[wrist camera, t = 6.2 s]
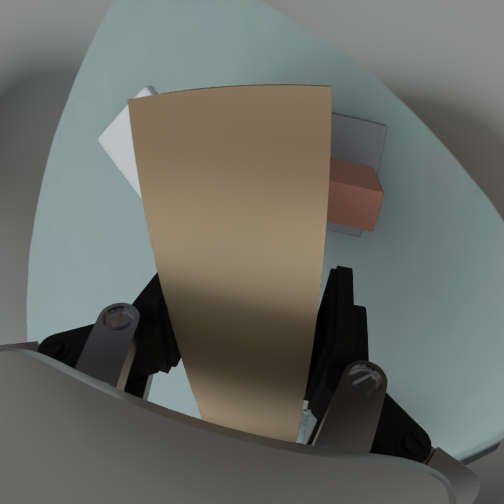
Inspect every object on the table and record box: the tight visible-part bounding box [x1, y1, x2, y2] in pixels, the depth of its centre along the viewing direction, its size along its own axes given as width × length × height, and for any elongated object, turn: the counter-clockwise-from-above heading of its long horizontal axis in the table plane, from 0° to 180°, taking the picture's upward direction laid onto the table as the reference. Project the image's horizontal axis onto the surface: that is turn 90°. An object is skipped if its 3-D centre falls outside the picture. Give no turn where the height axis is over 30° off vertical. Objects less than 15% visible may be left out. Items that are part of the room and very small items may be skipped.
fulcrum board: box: [326, 113, 387, 237], centre depth 22 cm, size 10×12×7 cm
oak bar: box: [128, 84, 332, 443], centre depth 10 cm, size 14×4×4 cm, turn 3°
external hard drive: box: [98, 86, 156, 198], centre depth 28 cm, size 2×8×12 cm
